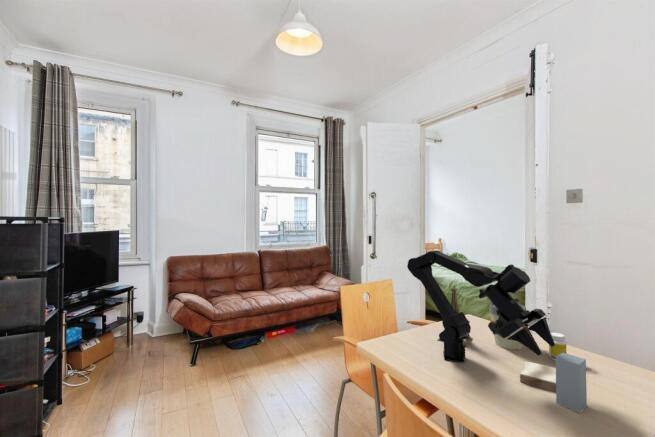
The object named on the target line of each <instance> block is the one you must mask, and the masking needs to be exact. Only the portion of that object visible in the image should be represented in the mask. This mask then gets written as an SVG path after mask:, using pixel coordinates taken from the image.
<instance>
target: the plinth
mask: <svg viewBox="0 0 655 437" xmlns="http://www.w3.org/2000/svg"><path fill="white" fill-rule="evenodd" d="M519 378H520V380H519V382H520V383H524V384H527V385H530V386H533V387H538V388H542V389H546V390H548V391H552V392H556V367H551V366H547V365H543V364H540V363H534V362H530V361H526V360H524V361H523V363H522V366H521V370H520V373H519Z"/></svg>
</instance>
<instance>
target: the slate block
mask: <svg viewBox="0 0 655 437" xmlns="http://www.w3.org/2000/svg"><path fill="white" fill-rule="evenodd" d="M555 368H556V391H555V394H556V395H555V396H556V400H555V401H556V402H555V403H556V404H558V405H561V406H562V407H565V408H568V409H571V411H572V410H573V411H575V412H578V413H582V411H583V410H584V409H585V408H586V407H587V406H588V405H587V401H588V399H587V397H588V396H587V361H586V358H583V357H579V356H577V355H576V356H575V355H572V354H569V353H567V352H566V353H561V354H560V355H558V356H557V357H556V361H555Z"/></svg>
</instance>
